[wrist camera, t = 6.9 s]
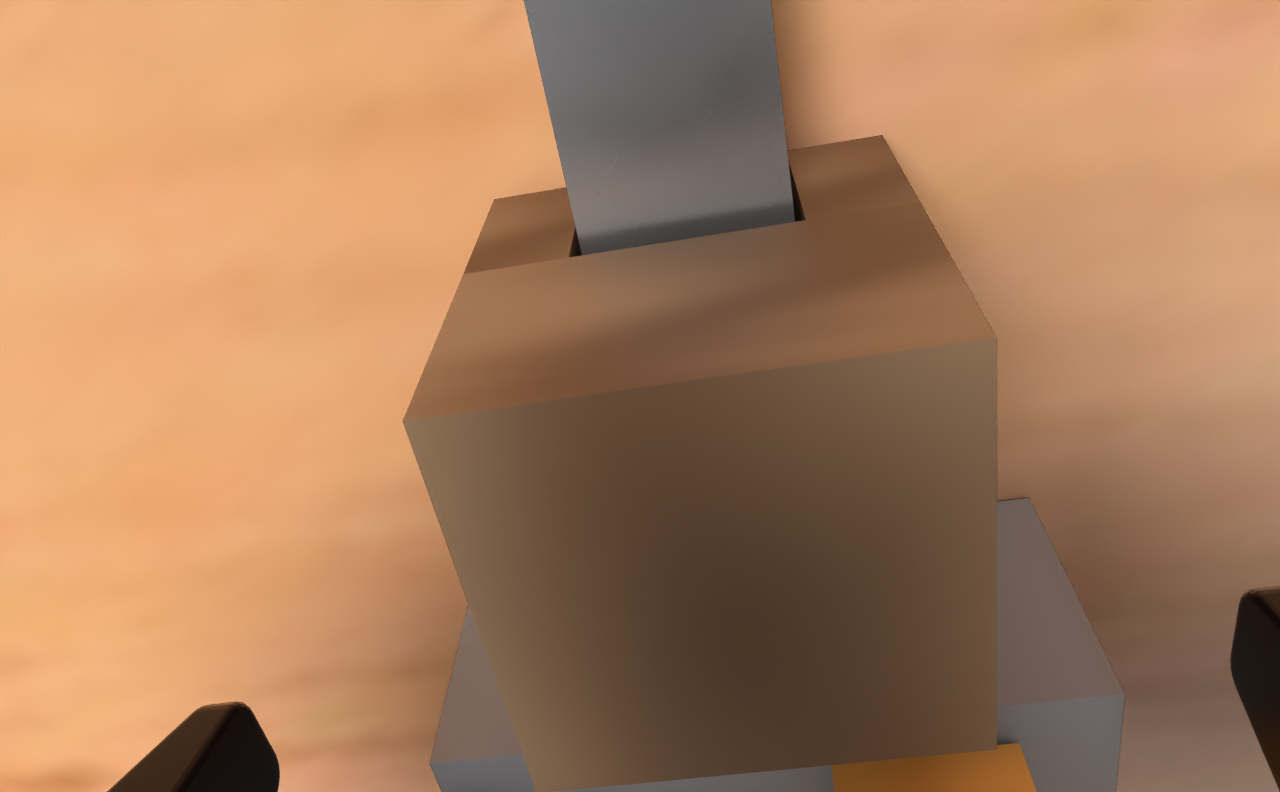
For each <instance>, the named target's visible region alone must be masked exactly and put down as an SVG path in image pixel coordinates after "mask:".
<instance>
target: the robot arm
mask: <svg viewBox="0 0 1280 792" xmlns="http://www.w3.org/2000/svg"><path fill="white" fill-rule="evenodd" d="M1230 661H1231V671H1232V676H1233V680H1234V683H1235V686H1236V689H1237V691H1238V694H1239V696H1240V698H1241V701H1242V703H1243V705H1244V708H1245V710H1246V713H1247V715H1248V717H1249V720H1250V722H1251V725H1252V727H1253V729H1254V732H1255V734H1256V736H1257V739H1258V741H1259V744H1260V746H1261V748H1262V751H1263V753H1264V756H1265V758H1266V760H1267V763H1268V765H1269V767H1270V770H1271V772H1272V775H1273V777H1274V779H1275V782H1276V784H1277V787H1278V789H1279V791H1280V586H1276V587H1267V588H1258V589H1251V590H1249V591H1246V592H1245V593H1244V594H1243V596H1242V597H1241V600H1240V603H1239V608H1238V614H1237V620H1236V626H1235V632H1234V638H1233V645H1232V651H1231V659H1230ZM279 777H280V771H279V763H278V760H277V757H276V754H275V752H274V750H273V748H272V747H271V745H270V743H269V741H268V739H267V737H266V736H265V734H264V732H263V730H262V728H261V726H260V725H259V723H258V721H257V719H256V717H255V715H254V714H253V712H252V710H251V709H250V707H248V706H247V705H246V704H244V703H243V702H229V703H221V704H212V705H206V706H203V707H200V708H199V709H197V710H196V711H195V712H193V713H192V714H191V715H190V716H189V717H188V718H187V719H185V720H184V721H183V722H182V723H181V724H180V725H179V726H178V727H177V728H176V729H175V730H174V731H172V732H171V733H170V734H169V735H168V736H167V737H166V738H165V739H164V740H163V741H162V742H161V743H159V744H158V745H157V746H156V747H155V748H154V749H153V750H152V751H151V752H150V753H149V754H147V755H146V756H145V757H144V758H143V759H142V760H141V761H140V762H139V763H138V764H137V765H136V766H134V767H133V768H132V769H131V770H130V771H129V772H128V773H127V774H126V775H125V776H124V777H123V778H121V779H120V780H119V781H118V782H117V783H116V784H115V785H114V786H113V787H112V788H111V789H110V790H108V791H107V792H278V787H279Z"/></svg>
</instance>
